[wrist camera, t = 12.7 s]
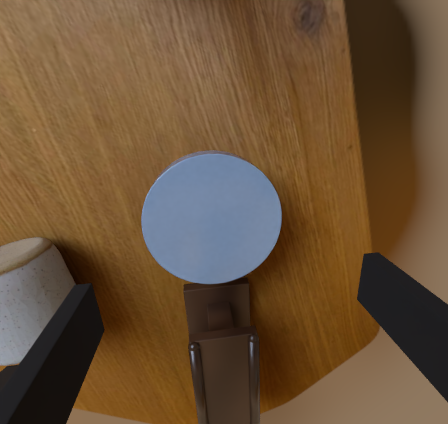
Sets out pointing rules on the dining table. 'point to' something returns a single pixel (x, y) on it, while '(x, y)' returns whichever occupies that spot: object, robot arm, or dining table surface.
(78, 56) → the dining table surface
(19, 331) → the ceramic mug
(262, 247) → the side plate
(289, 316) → the dining table surface
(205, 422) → the plate rack
